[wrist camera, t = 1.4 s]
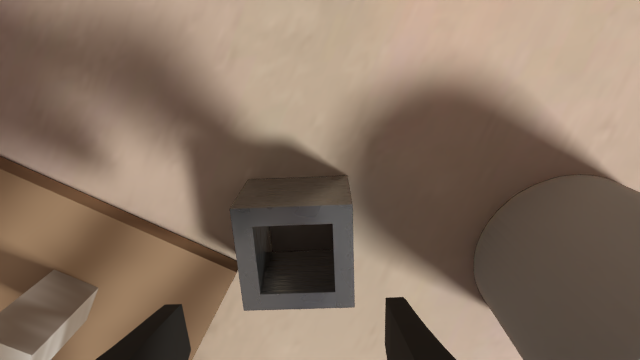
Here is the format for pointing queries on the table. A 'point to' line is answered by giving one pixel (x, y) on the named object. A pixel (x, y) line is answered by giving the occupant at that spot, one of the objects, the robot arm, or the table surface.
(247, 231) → the square hub
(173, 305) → the robot arm
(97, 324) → the post board
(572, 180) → the coffee mug
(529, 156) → the table surface
